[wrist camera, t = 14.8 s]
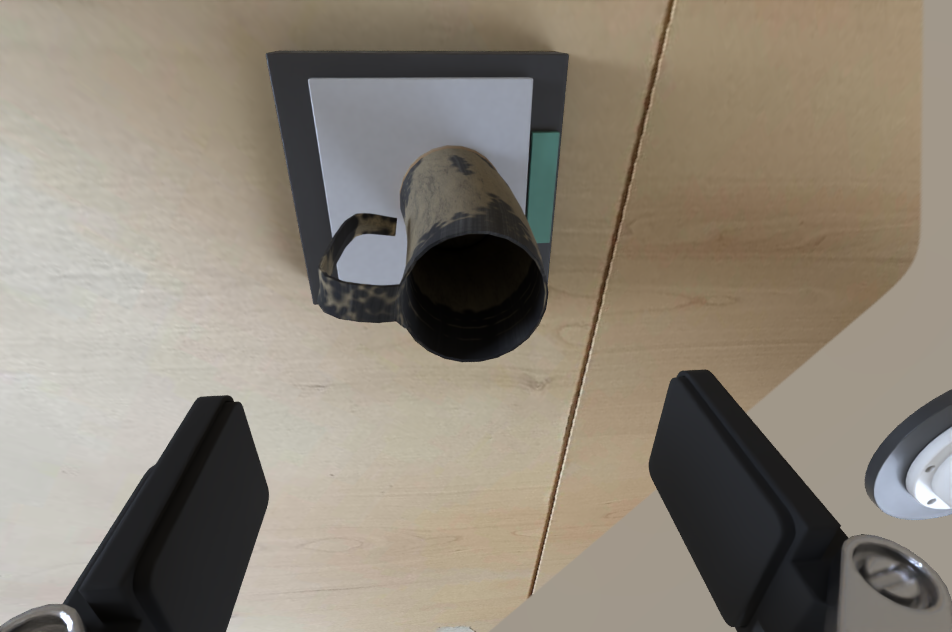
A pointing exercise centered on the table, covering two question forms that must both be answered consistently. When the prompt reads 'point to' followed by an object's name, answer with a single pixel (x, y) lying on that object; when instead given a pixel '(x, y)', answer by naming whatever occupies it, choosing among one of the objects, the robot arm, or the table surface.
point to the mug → (449, 262)
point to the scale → (410, 138)
